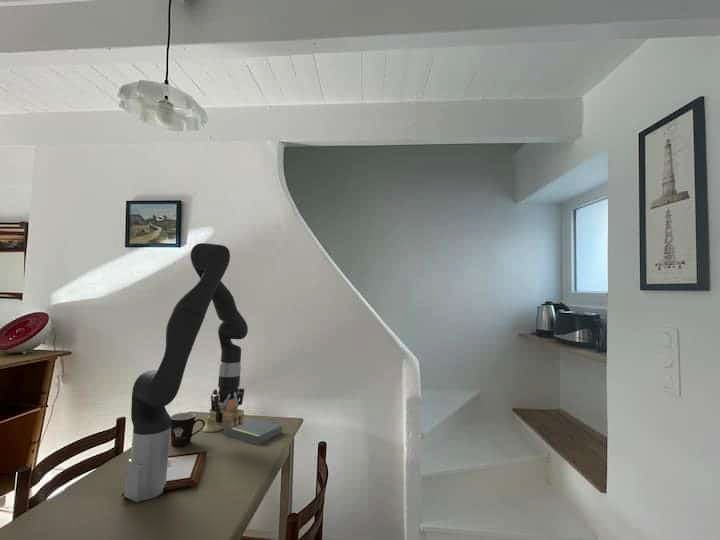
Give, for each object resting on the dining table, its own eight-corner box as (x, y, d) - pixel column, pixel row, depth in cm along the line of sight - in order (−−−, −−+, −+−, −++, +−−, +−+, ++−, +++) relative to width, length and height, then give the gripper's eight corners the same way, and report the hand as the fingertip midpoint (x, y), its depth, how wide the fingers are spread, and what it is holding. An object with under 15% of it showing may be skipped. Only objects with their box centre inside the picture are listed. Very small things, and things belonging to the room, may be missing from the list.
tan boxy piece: (230, 429, 125) (231, 414, 125) (208, 423, 130) (210, 409, 130) (243, 424, 130) (244, 410, 131) (222, 418, 135) (223, 405, 136)
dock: (257, 444, 133) (257, 436, 133) (223, 434, 141) (224, 426, 141) (281, 433, 145) (282, 425, 145) (249, 424, 154) (250, 417, 154)
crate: (226, 412, 128) (227, 400, 128) (218, 410, 130) (219, 399, 130) (235, 409, 131) (235, 398, 132) (227, 407, 133) (228, 396, 134)
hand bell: (202, 426, 150) (205, 387, 151) (223, 424, 152) (226, 387, 154) (200, 433, 142) (203, 392, 143) (222, 431, 144) (224, 392, 146)
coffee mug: (162, 446, 129) (164, 417, 130) (181, 437, 137) (183, 411, 138) (187, 451, 125) (189, 422, 126) (205, 442, 133) (207, 415, 134)
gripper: (221, 378, 124) (217, 428, 122) (251, 372, 136) (248, 417, 135) (206, 375, 127) (202, 423, 126) (237, 369, 140) (234, 413, 138)
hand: (226, 420), depth 130 cm, fingers closed on tan boxy piece, 6 cm apart
